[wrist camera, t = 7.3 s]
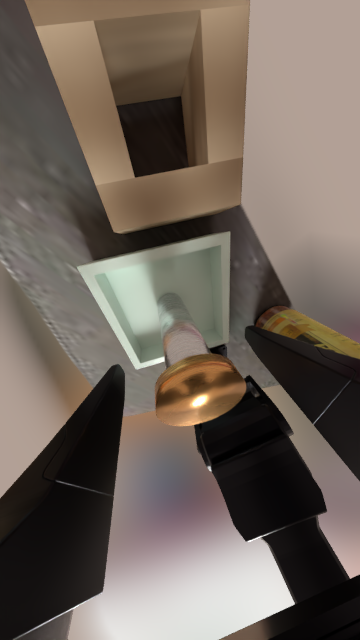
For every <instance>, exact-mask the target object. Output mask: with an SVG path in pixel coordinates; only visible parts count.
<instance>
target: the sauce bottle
mask: <svg viewBox="0 0 360 640" xmlns="http://www.w3.org/2000/svg"><path fill="white" fill-rule="evenodd" d="M255 326H256V327H259V328H262V329H265V330H268V331H271V332H274V333H277V334H280V335H284V336H287V337H290V338H293V339H296V340H299V341H302V342H305V343H308V344H312V345H314V346H318V347H321V348H324V349H327V350H331V351H334V352H337V353H341V354H344V355H348V356H351V357H355V358H359V359H360V344H359V343H357V342H355V341H353V340H351V339H349V338H347V337H346V336H344V335H342V334H340V333H338V332H336V331H334V330H332V329H330V328H328V327H326V326H324V325H322V324H321V323H319V322H317V321H315V320H313V319H311V318H309V317H307V316H305V315H303V314H302V313H299V312H298V311H296V310H292V309H290V308H288V307H285V306H281V305H280V306H275V307H272V308H270V309H268V310H267V311H266V312H264V313H263V314H262V315H261V316H260V317H259V319H258V320H257V323H256V325H255Z"/></svg>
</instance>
